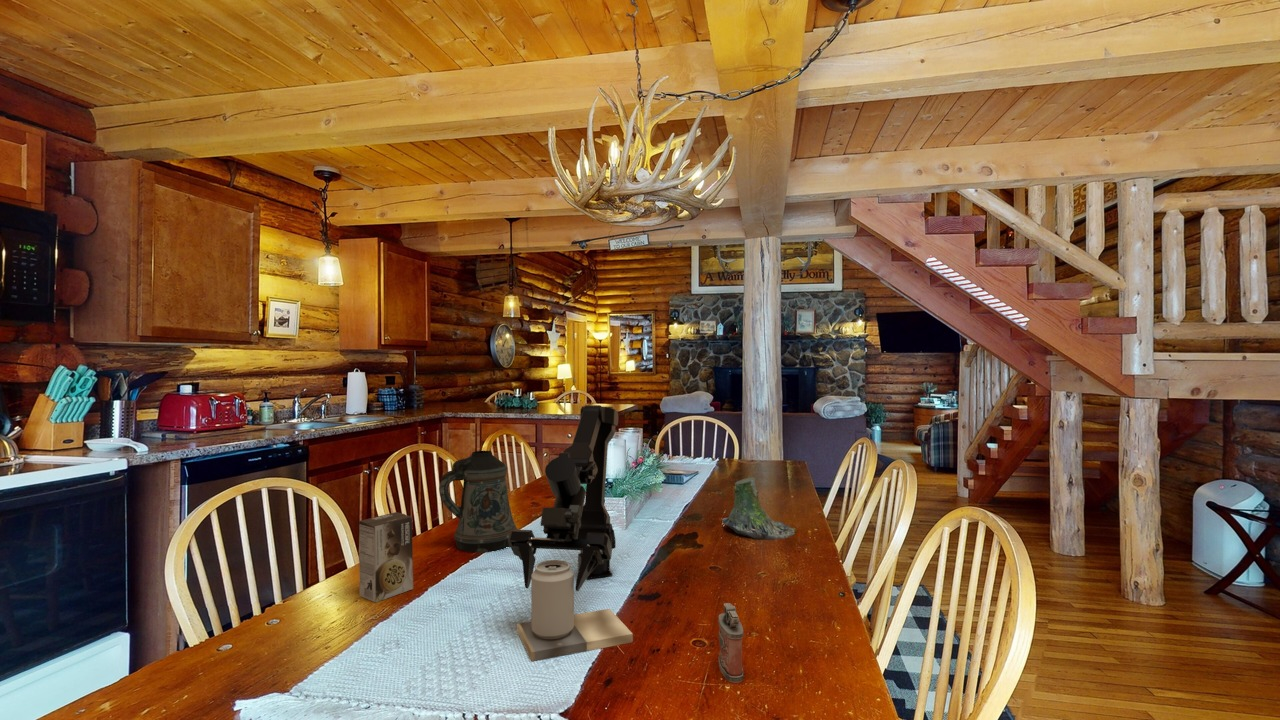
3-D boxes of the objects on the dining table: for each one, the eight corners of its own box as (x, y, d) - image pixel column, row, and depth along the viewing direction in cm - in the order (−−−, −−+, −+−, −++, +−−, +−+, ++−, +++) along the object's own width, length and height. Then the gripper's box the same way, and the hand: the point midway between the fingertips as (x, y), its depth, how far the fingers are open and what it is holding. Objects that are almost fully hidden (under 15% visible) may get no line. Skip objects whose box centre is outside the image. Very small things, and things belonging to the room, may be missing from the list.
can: (574, 622, 115) (574, 557, 115) (573, 640, 107) (573, 571, 107) (533, 623, 114) (533, 558, 114) (529, 642, 107) (529, 572, 107)
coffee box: (396, 583, 139) (396, 511, 139) (414, 589, 135) (413, 515, 135) (357, 596, 132) (357, 520, 132) (375, 603, 128) (375, 524, 128)
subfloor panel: (609, 616, 121) (609, 608, 121) (632, 642, 110) (632, 633, 110) (517, 632, 114) (517, 623, 114) (531, 661, 103) (531, 651, 103)
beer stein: (529, 541, 172) (529, 450, 171) (476, 560, 155) (475, 459, 155) (486, 532, 180) (486, 445, 180) (431, 549, 164) (431, 454, 164)
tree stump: (800, 543, 170) (783, 480, 170) (728, 558, 173) (712, 495, 173) (793, 522, 188) (778, 465, 188) (728, 536, 192) (714, 479, 191)
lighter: (715, 658, 104) (715, 598, 104) (735, 657, 105) (735, 597, 105) (725, 682, 96) (725, 618, 96) (747, 681, 97) (747, 617, 97)
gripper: (511, 486, 117) (488, 565, 106) (608, 489, 114) (595, 570, 103) (525, 517, 125) (505, 593, 114) (616, 521, 122) (605, 599, 111)
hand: (551, 588), depth 110 cm, fingers open, 9 cm apart
